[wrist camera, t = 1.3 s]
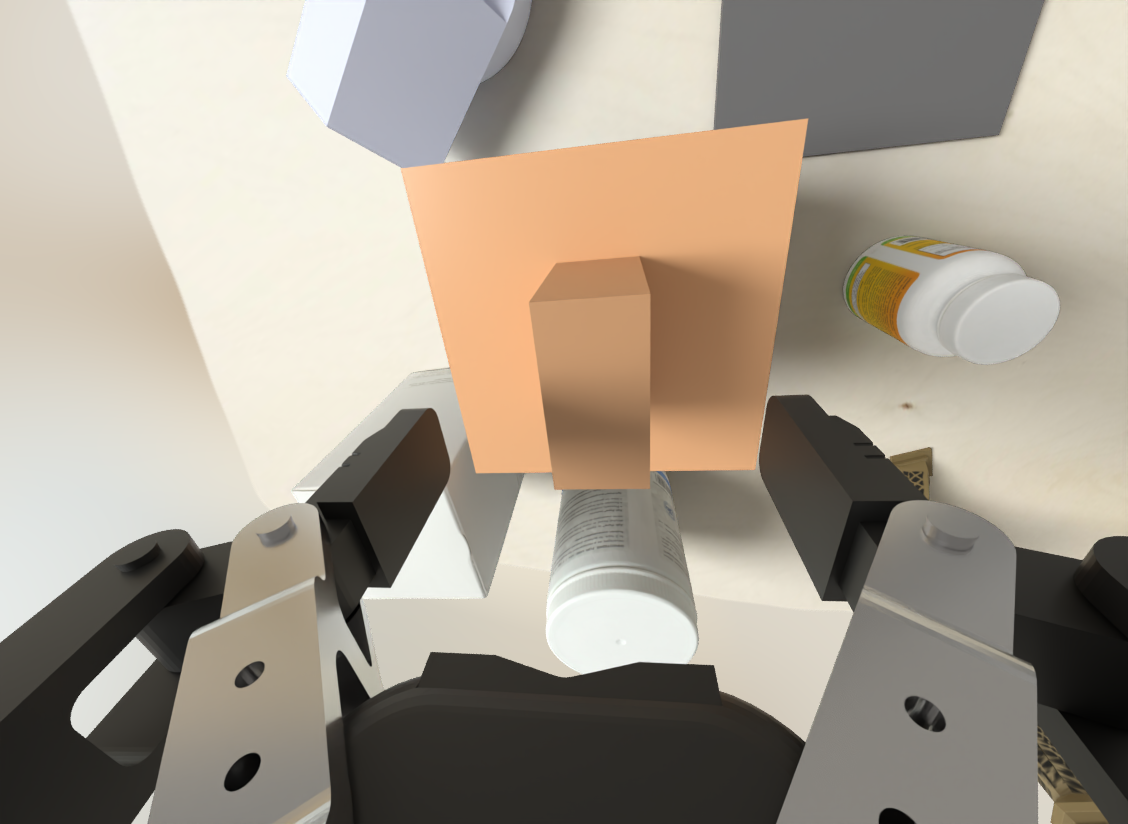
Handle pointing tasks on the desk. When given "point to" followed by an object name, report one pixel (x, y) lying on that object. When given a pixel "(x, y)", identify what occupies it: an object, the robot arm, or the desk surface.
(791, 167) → the lid
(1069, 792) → the eiffel tower
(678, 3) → the desk surface
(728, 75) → the rubber mat
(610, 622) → the supplement tub
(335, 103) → the wedge on round base
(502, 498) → the supplement box
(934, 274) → the supplement bottle
